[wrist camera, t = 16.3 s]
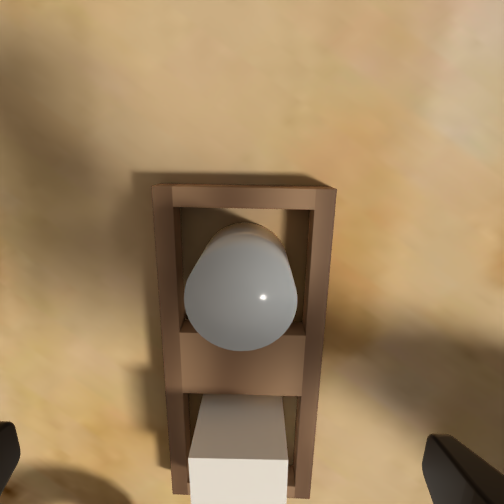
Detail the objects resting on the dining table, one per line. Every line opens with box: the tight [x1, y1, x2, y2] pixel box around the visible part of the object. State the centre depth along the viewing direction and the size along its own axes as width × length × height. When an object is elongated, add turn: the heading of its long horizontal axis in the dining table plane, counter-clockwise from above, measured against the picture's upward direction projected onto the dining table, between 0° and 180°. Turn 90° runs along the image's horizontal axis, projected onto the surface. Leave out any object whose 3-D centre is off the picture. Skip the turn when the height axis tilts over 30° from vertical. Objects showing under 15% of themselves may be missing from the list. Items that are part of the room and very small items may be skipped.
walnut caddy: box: [151, 183, 337, 499], centre depth 19 cm, size 9×20×2 cm, turn 179°
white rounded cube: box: [188, 394, 288, 504], centre depth 19 cm, size 5×5×5 cm
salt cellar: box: [184, 223, 297, 351], centre depth 16 cm, size 5×5×5 cm
